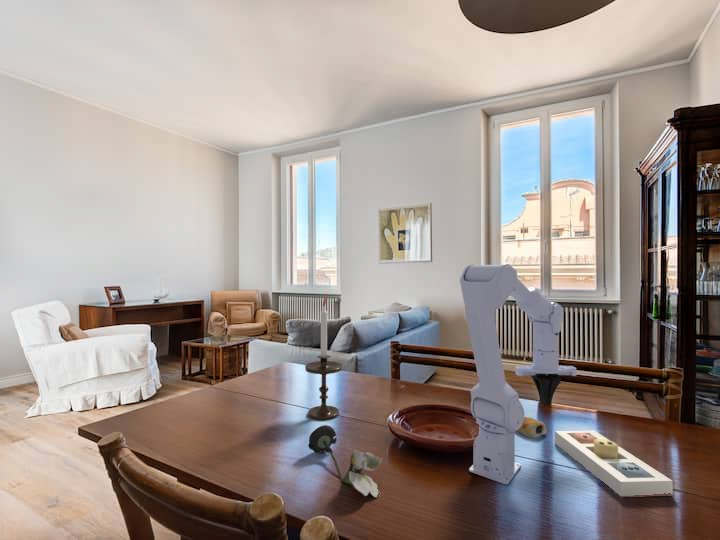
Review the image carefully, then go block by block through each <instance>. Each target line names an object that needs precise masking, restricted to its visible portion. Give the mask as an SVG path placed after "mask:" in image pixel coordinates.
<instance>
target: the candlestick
mask: <svg viewBox="0 0 720 540" xmlns="http://www.w3.org/2000/svg"><path fill="white" fill-rule="evenodd" d="M327 299H328V298H327V296H325V298H324V300H323V303H322V310H321V311H320V355H317V357H316V358H318V359H320V361H312V362H309V363H307V364H305V372H307V373H309V374H315V375H321V386H320V387H318V390H319V393H321V394H320V396H319V399H320V400H321V404H320V405H317V406H314V407H312V408H310V409H309V410H308V417H309V418H310V419H312V420H314V421H315V420H316V421H330V420H333V419H336V418H338V417H339V415H340V409H339V408H337V407H336V406H331V405H327V399H328V397H329V396H328V395H327V393H328V392H329V387H328V386H327V375H329V374H336V373H339V372H341V371H343V364H342V363H340V362H336V361H332V360H328V358H331V355H328V311H327V310H326V303H327Z"/></svg>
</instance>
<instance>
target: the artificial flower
mask: <svg viewBox="0 0 720 540" xmlns="http://www.w3.org/2000/svg"><path fill="white" fill-rule="evenodd" d="M336 436H337V434H336V431H335V429H334V428H333V427H332V426H330V425H327V424H325V425H321V426H318V427H317V428H315V429H314V430H313V431H312V432H311V433H310V435H309V438H308V449H309V450H312V452H314V453H316V454H320V453H324V452H326V453H327V454H330V456H331V459H332V460H333V462H334V466H335V467H336V471H337V474H338V478H339V480H340V481H341V482H343V483H346V484H348V485H349V484H350V485H353V487H354V489H355V490H357V491H358V492H359V493H361V494H362V495H363V496H364V497H366V496H368V495H369V494H371V495H372V496H373V498H377V495H378V493H379V492H380V491H379V488H378V484H377V483H376V482H375V481H373V479H372V478H371V477H370V476H368V475H367V474H366V473H364V472H363V473H362V471H363V470H366V471H370V472H374V471H375V470H377V468H378V467H379V466H380V465H381V463H382V457H380V456H377V455H374V454H373V453H371V452H369V451H367V452H363V451H360V450H356V449H355V448H352V454H351V456H350V462H349V463H350V464H349V468H348V471H346V474H345V476H344V477H342V474H341V471H340V467H339V464H338V461H337V459H336V458H335V456H334V451H333V449H332V448H331V445H336V443H337V437H336ZM334 437H335V438H334ZM377 488H378V489H377ZM378 491H379V492H378Z"/></svg>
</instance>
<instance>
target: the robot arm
mask: <svg viewBox="0 0 720 540" xmlns="http://www.w3.org/2000/svg"><path fill="white" fill-rule="evenodd" d="M459 283H460V288H461V294H462V298H463V303H464V311H465V317H466V321H467V322H466V323H467V327H468V332H469V338H470V342H471V348H472V353H473V357H474V363H475V367H476V369H475V370H476V374H477V379H478V383H477V384H476V385H474V386H473V387H472V389H471V390H470V396H471V397H470V399H471V401H470V412H471V414H472V416H473V418H475V424H478V435H477V436H476V438H475V439H474V440H473V445H472V446H473V447H472V448H473V450H472V451H473V452H472V453H473V459H472V460H473V463H472V465H471V466H470V467H469V469H468V471H469V472H470V473H473V474H475V475H478V476H481V477H483V478H486V479H490V480H492V481H494V482H497V483H500V484H502V485H509V483H510V481H512V479H513V478H514V476H515V475H516V474H517V472H518V471H519V470H520V469H521V467H522V464H521V463H520V462H517V461H515V460H516V459H515V457H516V456H515V455H516V453H515V451H516V450H515V448H516V445H515V443H516V442H515V441H516V440H515V439H516V438H515V437H516V435H515V434H516V432H518V431H517V430H518V429H519V428H520V427H521V426H522V424H523V421H524V417H525V410H524V406H523V404H522V403H521V401H520V398H519V394H518V393H519V392H517V391H516V390H515V389H514V388H512V386H511V385H510V384H509V383H508V382H507V381H506V375H505V370H504V366H503V359H502V354H501V349H500V344H499V337H498V332H497V325H496V321H495V316H494V313H495V311H496V310H498V309H501V308H502V307H503V305H504V304H505V303H506V302H507V300H508V299H509V297H511V298H513V299H515V304H516V306H517V307H518V308H519V309H520V310H521V311H523V312H524V313H525V314H526V315H527V317H528V321H529V322H530V323H532V364H528V365H522V366H521V365H520V366H515V367H514V371H515V372H514V373H515V375H516V376H518V377H523V376H530V377H531V379H532V381H533V383H534V384H535V386H536V390H537V392H538V395H539V401H540V404H542V405H543V406H545V407H547V406H548V407H549V406H551V404H552V400H553V397H554V394H555V392H556V390H557V388H558V386H559V385H560V384H561V381H562V380H561V379H562V378H561V377H559V376H573V377H576V376H577V367H575V366H573V365H559V357H560V356H559V355H560V354H559V342H560V341H559V340H560V339H559V338H560V337H559V335H560V334H559V333H561V330H562V323H563V320H564V313H565V312H564V310H563V306H562V305H560V304H559V303H558V302H557V301H556V302H554V301H550V300H549V299H548V298H547V297H546V296H545V295H543V294H542V293H541V292H540V291H539V288H537V287H532V286H530V287H527V286H526V285H525V284H524V283H523V282H522V280H520V279H519V278H518V272H517V269H515V268H514V267H513V265H511V264H509V263H503V264H473V263H471V264H470V263H469V264H468V265H467V266H465V268H464V270H463V272H462V273H461V276H460V278H459Z"/></svg>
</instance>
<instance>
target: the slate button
mask: <svg viewBox="0 0 720 540" xmlns="http://www.w3.org/2000/svg"><path fill="white" fill-rule="evenodd" d="M617 471H619V472H620V473H621V474H623V475H624V476H625V477H627V478H645V472H644V470H643V469H641V468H640V467H638V466H635V465H633V464H628V463H619V464H617Z"/></svg>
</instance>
